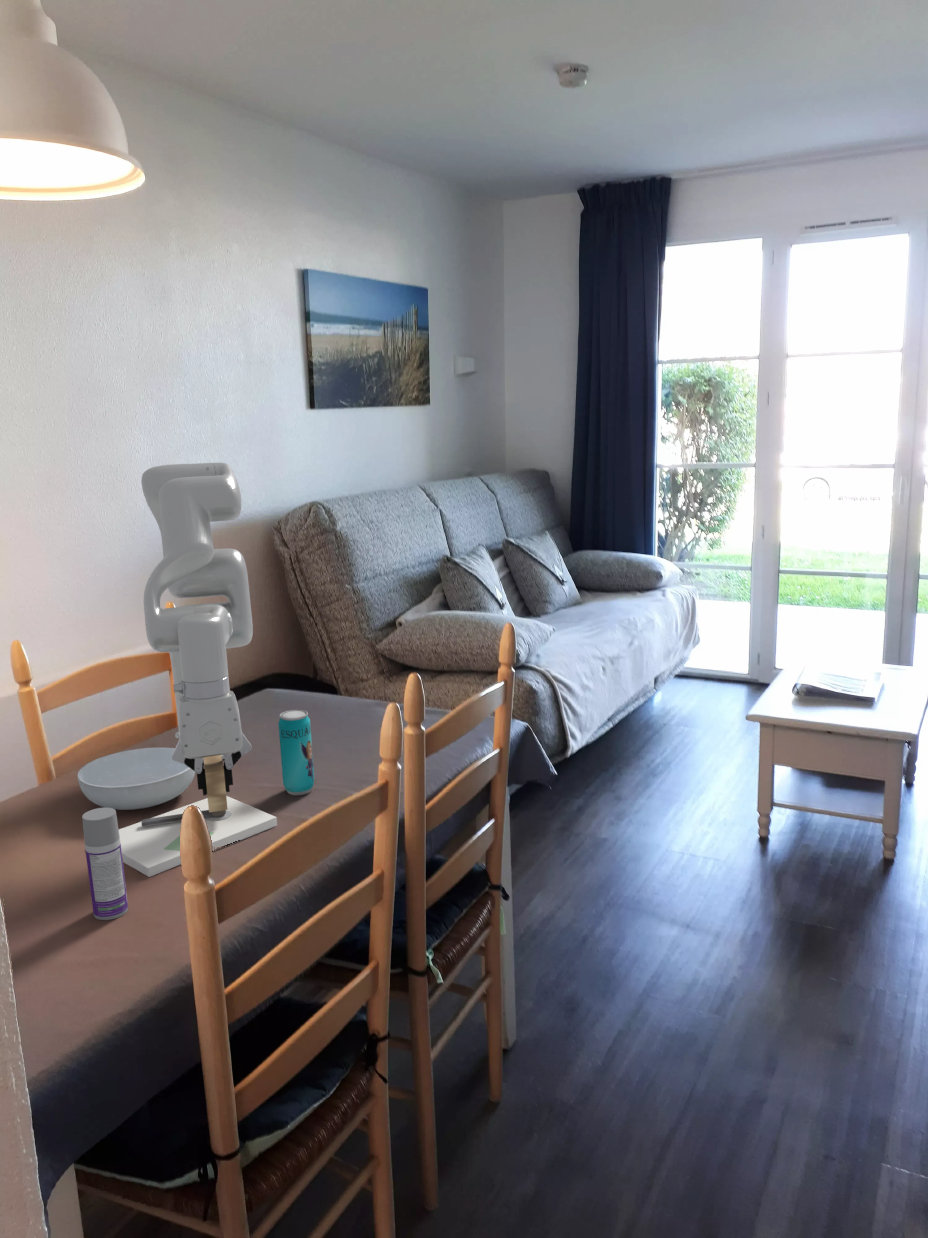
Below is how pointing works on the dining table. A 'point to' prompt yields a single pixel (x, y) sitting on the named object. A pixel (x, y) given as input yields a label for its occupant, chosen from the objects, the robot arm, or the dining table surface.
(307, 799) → the dining table surface
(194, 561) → the robot arm
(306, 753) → the beverage can
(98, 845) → the container
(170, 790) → the serving bowl
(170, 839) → the dial board
